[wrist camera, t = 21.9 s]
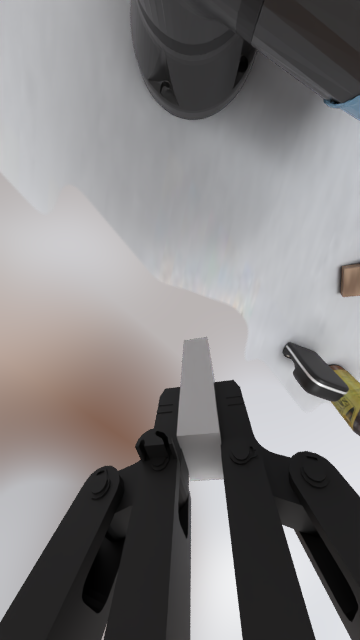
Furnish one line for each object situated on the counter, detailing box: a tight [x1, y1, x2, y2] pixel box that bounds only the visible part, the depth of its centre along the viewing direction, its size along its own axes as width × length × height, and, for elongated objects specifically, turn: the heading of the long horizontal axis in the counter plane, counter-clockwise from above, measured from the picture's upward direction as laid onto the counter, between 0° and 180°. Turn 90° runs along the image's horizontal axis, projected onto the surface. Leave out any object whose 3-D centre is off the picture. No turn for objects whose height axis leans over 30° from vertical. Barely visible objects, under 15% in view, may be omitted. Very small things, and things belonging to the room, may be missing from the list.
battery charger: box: [283, 343, 349, 402], centre depth 38 cm, size 7×4×11 cm, turn 70°
